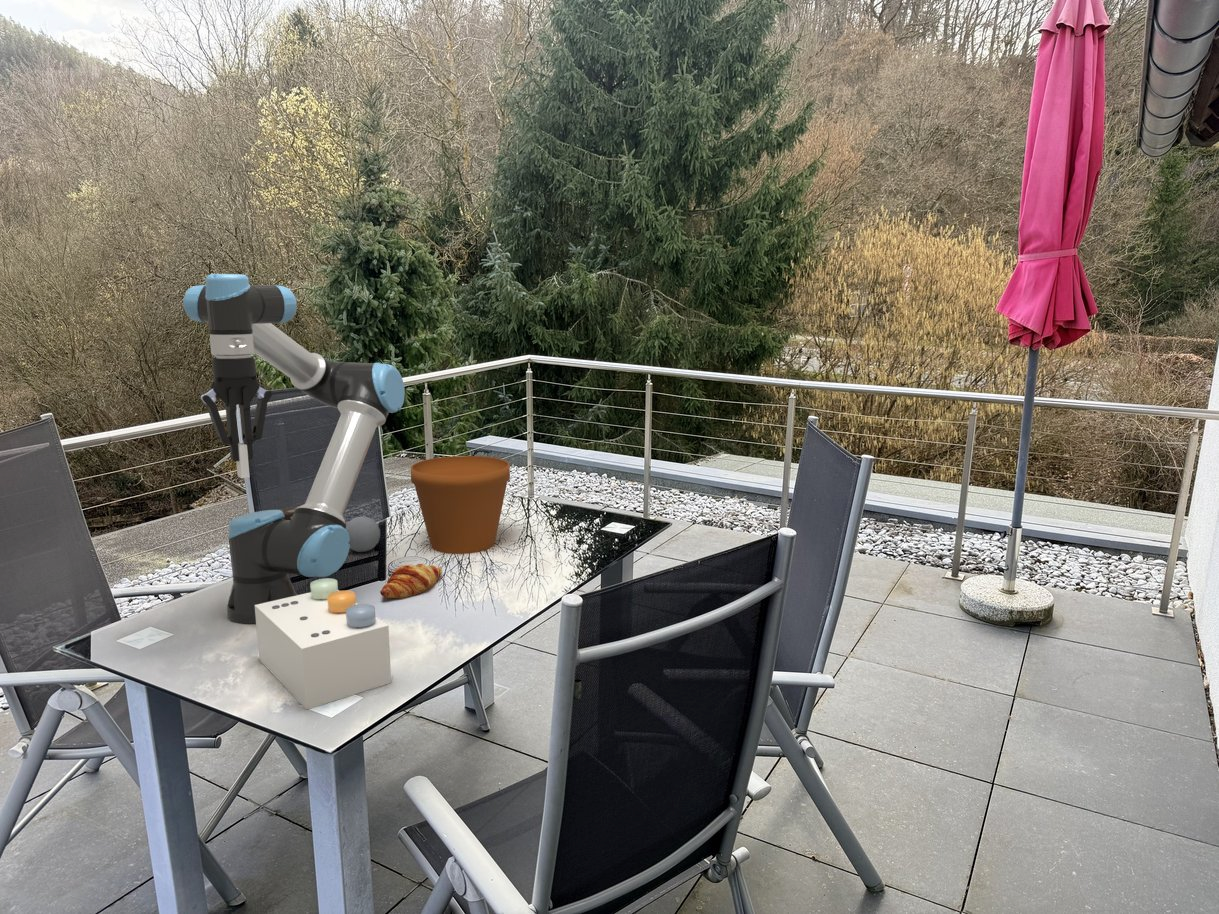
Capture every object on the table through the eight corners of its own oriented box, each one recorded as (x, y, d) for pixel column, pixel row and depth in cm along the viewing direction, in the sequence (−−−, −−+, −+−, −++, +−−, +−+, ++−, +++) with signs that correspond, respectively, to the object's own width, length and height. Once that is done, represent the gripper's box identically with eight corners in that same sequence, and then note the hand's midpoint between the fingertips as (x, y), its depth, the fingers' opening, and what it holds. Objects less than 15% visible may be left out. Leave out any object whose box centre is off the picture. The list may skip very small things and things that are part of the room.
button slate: (369, 628, 156) (367, 601, 155) (381, 637, 152) (379, 609, 151) (343, 635, 153) (341, 608, 152) (354, 644, 149) (352, 616, 148)
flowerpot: (495, 562, 223) (493, 478, 218) (398, 556, 227) (394, 474, 222) (522, 532, 250) (520, 457, 245) (434, 528, 254) (432, 454, 249)
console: (337, 638, 173) (333, 586, 171) (391, 682, 154) (388, 624, 151) (259, 659, 163) (254, 604, 161) (306, 709, 143) (301, 647, 141)
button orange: (350, 614, 163) (348, 588, 162) (361, 622, 159) (359, 595, 158) (324, 621, 160) (323, 594, 159) (335, 629, 156) (333, 602, 155)
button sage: (333, 601, 170) (331, 576, 169) (343, 609, 166) (341, 583, 165) (308, 607, 166) (306, 582, 165) (317, 615, 162) (315, 589, 161)
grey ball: (387, 547, 235) (386, 513, 233) (369, 558, 225) (367, 523, 223) (356, 544, 237) (354, 511, 235) (337, 554, 228) (335, 520, 226)
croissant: (432, 587, 213) (420, 559, 214) (459, 575, 208) (447, 546, 209) (375, 613, 195) (362, 582, 195) (403, 601, 190) (389, 569, 190)
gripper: (201, 359, 149) (213, 484, 153) (274, 356, 157) (283, 475, 162) (191, 356, 154) (202, 478, 159) (262, 353, 163) (271, 469, 167)
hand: (243, 476), depth 160 cm, fingers closed
